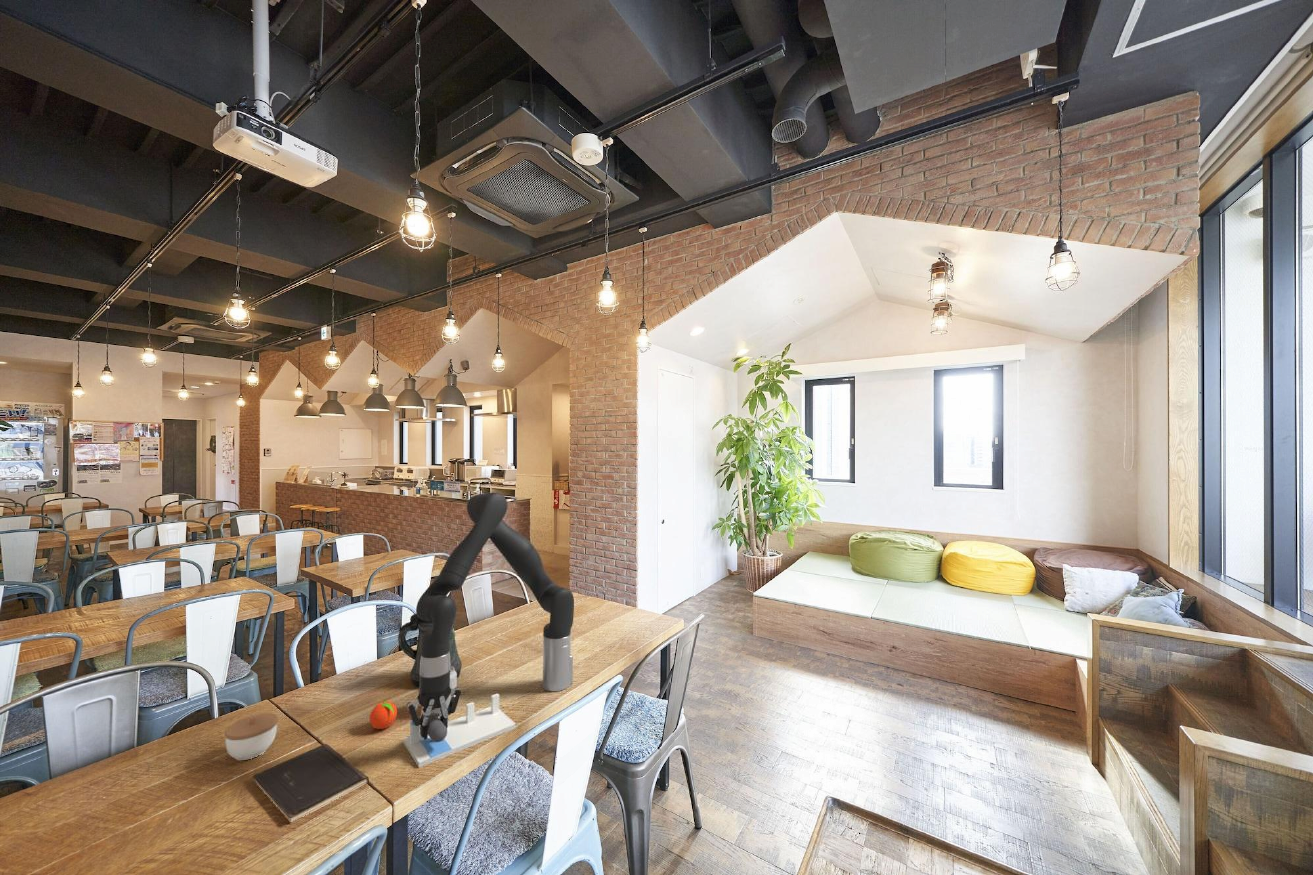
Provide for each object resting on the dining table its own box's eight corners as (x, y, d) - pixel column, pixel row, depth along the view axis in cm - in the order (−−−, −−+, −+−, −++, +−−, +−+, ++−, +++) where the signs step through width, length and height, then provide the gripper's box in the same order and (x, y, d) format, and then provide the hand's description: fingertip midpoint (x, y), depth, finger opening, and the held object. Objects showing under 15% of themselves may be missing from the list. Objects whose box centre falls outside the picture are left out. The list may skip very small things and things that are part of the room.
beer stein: (471, 674, 172) (472, 603, 173) (419, 697, 156) (421, 619, 156) (443, 663, 181) (444, 596, 182) (391, 684, 164) (393, 610, 165)
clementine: (404, 724, 140) (405, 700, 140) (382, 737, 134) (382, 711, 134) (386, 718, 143) (386, 694, 144) (363, 730, 137) (364, 705, 137)
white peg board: (495, 708, 149) (495, 686, 149) (515, 727, 138) (515, 704, 139) (403, 742, 131) (403, 717, 132) (418, 767, 121) (419, 740, 121)
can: (446, 717, 144) (447, 676, 144) (424, 714, 146) (425, 674, 146) (461, 704, 151) (461, 665, 152) (440, 701, 153) (440, 663, 153)
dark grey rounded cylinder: (419, 727, 132) (419, 713, 132) (434, 721, 135) (434, 707, 135) (433, 747, 124) (433, 732, 124) (449, 741, 126) (449, 725, 126)
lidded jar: (287, 746, 130) (287, 710, 130) (241, 771, 120) (242, 732, 120) (260, 738, 133) (261, 704, 134) (214, 761, 123) (215, 724, 123)
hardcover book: (289, 827, 102) (289, 816, 102) (252, 785, 115) (252, 775, 115) (368, 785, 115) (369, 775, 116) (327, 751, 129) (327, 742, 129)
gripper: (456, 657, 137) (455, 718, 137) (402, 672, 128) (400, 738, 127) (466, 666, 132) (465, 730, 131) (410, 683, 122) (409, 751, 122)
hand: (433, 734), depth 129 cm, fingers closed on dark grey rounded cylinder, 4 cm apart
